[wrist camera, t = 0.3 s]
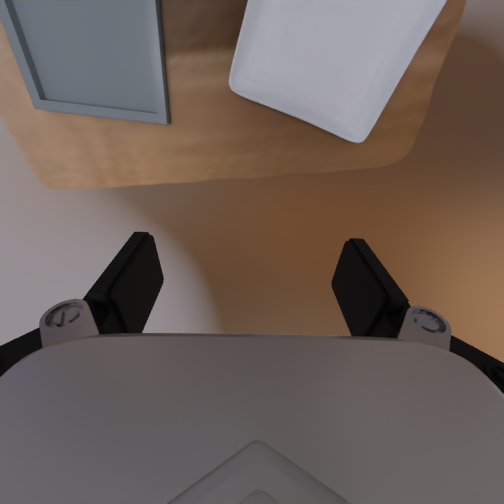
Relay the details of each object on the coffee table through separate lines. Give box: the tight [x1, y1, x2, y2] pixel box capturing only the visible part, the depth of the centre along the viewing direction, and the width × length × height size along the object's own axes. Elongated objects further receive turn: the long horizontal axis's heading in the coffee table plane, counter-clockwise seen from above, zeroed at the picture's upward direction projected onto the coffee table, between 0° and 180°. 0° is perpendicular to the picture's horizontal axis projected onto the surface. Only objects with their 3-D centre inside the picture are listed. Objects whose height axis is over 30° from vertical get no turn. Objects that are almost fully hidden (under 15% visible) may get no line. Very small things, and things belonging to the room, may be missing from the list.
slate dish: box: [0, 0, 170, 125], centre depth 28 cm, size 18×18×2 cm
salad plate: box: [229, 0, 447, 143], centre depth 28 cm, size 21×21×3 cm
